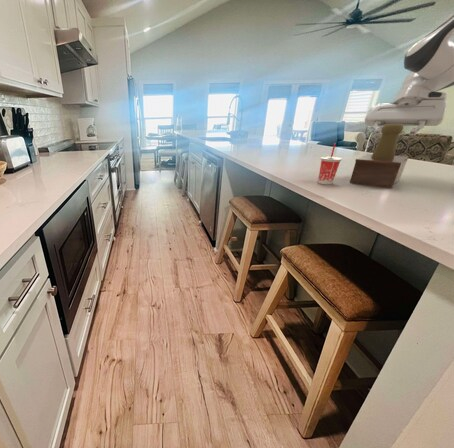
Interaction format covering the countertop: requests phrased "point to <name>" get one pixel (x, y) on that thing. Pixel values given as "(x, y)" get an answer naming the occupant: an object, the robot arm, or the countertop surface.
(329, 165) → the beverage cup
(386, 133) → the cork
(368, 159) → the lid
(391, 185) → the chest
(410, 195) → the countertop surface
